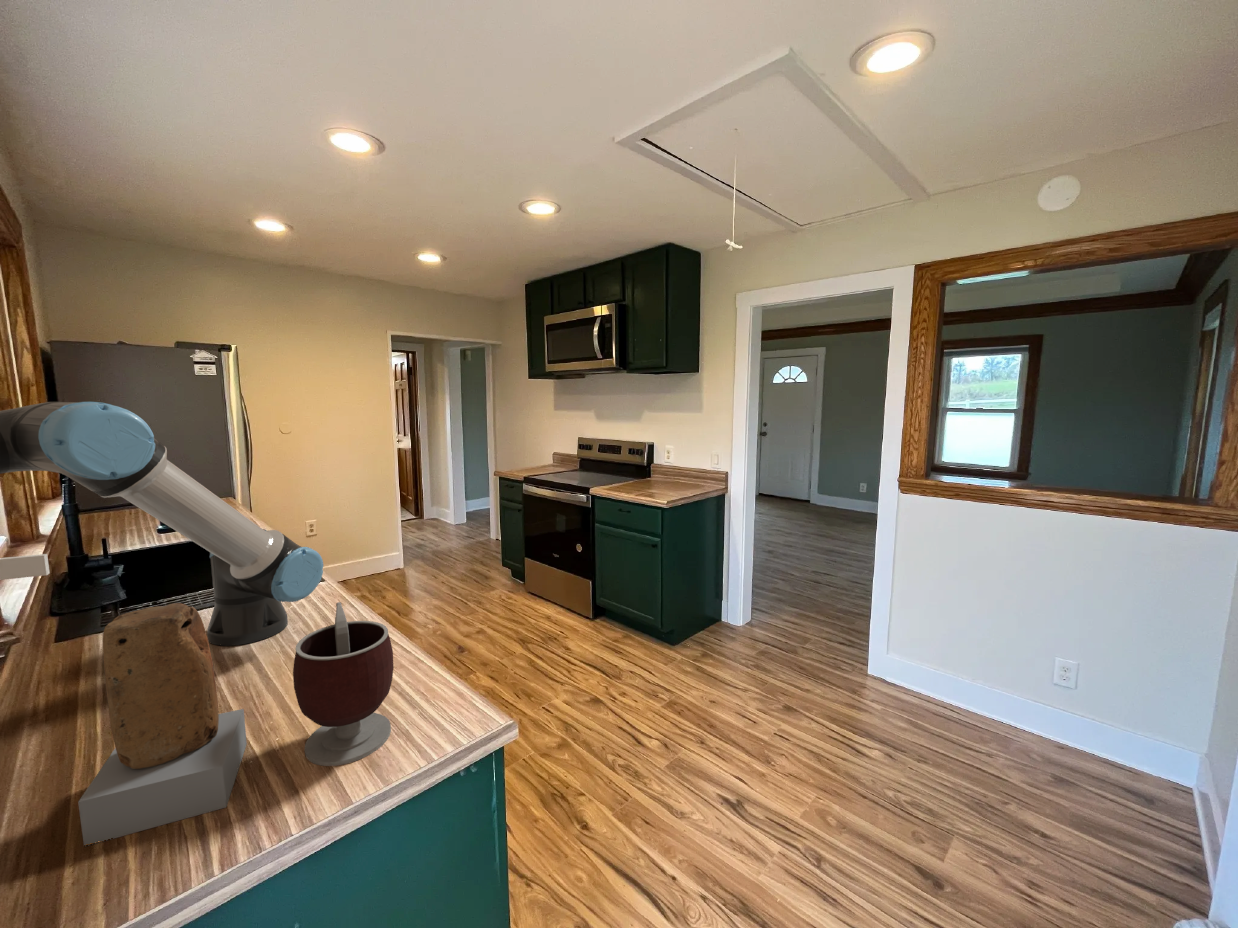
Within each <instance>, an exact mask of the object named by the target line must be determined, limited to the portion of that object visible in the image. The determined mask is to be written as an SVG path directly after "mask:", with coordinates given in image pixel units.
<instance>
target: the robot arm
mask: <svg viewBox="0 0 1238 928" xmlns="http://www.w3.org/2000/svg"><path fill="white" fill-rule="evenodd" d="M167 449H168V448H167V447H166V446H165V445H164V444H162V443H161V442H160V441H159V440H157V439H156V438H155V435H154V433H153V430H152V429H151V427H150V426H149V425H148V423H147V422H146V421H145V420H144V419H143V418H141V417H140V416H139V415H137V414H136V413H134V412H132V411H130V410H129V409H126V408H123V407H120V406H118V405H113V404H111V403H105V402H100V401H79V402H78V401H77V402H76V401H75V402H73V401H72V402H71V401H70V402H69V401H47V402H41V403H36V404H30V405H25V406H20V407H15V408H9V409H3V410H0V474H6V473H7V474H8V473H13V472H27V471H28V472H29V471H30V472H32V471H33V472H35V471H39V472H52V473H57V474H62V475H64V476H66V477H67V478H70V480H73V481H74V482H76V483H78V484H80V485H81V486H83V487H85V488H86V489H88V490H90V491H91V492H93V493H94V494H96V495H98V496H99V497H101V498H104V499H105V498H115V497H121V498H123V499H124V500H126V501H127V502H128V503H131V504H132V505H133V506H135V507H137V508H138V509H140V510H142V511H143V512H145V513H147V514H149V515H150V516H152V517H153V518H155V519H157V521H159V522H161V523H162V524H164V525H166V526H168V527H169V528H171V529H173V530H174V531H176V532H177V533H179V534H180V535H182V536H184V537H185V538H186V539H188V540H190V541H191V542H193V543H194V544H196V545H198V546H200V547H201V548H203V549H205V550H206V551H207V552H209V559H210V565H211V566H210V568H211V577H212V587H213V597H214V598H213V599H214V605H213V606H214V607H213V611H212V613H211V616H210V619H209V623H208V626H207V630H206V631H207V632H206V635H207V638H208V642H209V644H212V645H215V646H223V647H225V646H227V647H229V646H231V647H232V646H238V645H239V646H240V645H241V646H242V645H245V644H250V643H254V642H259V641H262V640H265V639H268V638H270V637H273V636H274V635H277V634H278V633H280V632H282V631H283V630H285V629H286V627H287V626H288V625H289V624H288V623H289V621H288V620H289V619H288V613H287V611H286V609H285V607H284V605H283V602H284V603H285V602H286V603H287V602H288V603H296V602H298V601H301V600H304V599H305V598H307V597H309V596H310V595H311V594H312V593H313V592H314V591H315V590H316V589H317V587H318V586H319V584H320V583H321V580H322V577H323V574H324V570H323V568H324V561H323V557H322V556H321V554H320V553H319V552H318V551H317V550H315V549H313V548H311V547H309V546H302V545H299V544H297V543H296V542H294V541H293V540H292V539H291V538H289V537H288V536H286V535H285V534H284V533H282V532H281V531H279V530H277V529H269V530H266V529H263V528H262V527H260V526H259V525H258V524H256V523H255V522H253V521H252V520H251V519H249V518H248V517H247V516H245V515H244V514H243V513H242V512H240V511H238V510H237V509H236V508H234V507H233V506H232V505H231V504H229V503H227V502H226V501H225V500H224V499H222V498H220V497H219V496H218V495H216V494H215V493H213V492H212V491H210V489H208V488H206V486H204V485H203V484H201V483H200V482H198V481H197V480H195V478H193V477H192V476H191V475H189V474H188V473H186V472H185V471H183V470H182V469H180V468H179V467H178V466H176V465H175V464H174V463H173V462H171V461H170V460H168V457H167V454H168V451H167ZM49 574H51V573H50V565H49V559H48V553H43V554H41V553H40V554H31V555H19V556H9V557H0V581H4V580H13V579H24V578H32V577H34V578H35V577H43V576H48V575H49Z"/></svg>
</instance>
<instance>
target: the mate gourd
mask: <svg viewBox="0 0 1238 928" xmlns="http://www.w3.org/2000/svg"><path fill="white" fill-rule="evenodd" d="M335 605H336V609H335V610H336V611H335V618H334V624H330V625H327V626H324V627H321V628H319V629H316V630H314V631H312V632H310V633H308V634H306V635H305V636H303V637H302V638H301V639H299V640H298V642H297V643H296V645H295V656H294V660H293V667H292V668H293V670H292V679H293V689H294V690H293V691H294V693H295V697H296V702H297V705H298V707H299V709H300V712H301V713H302V714H303V716H305V717H306V718H307V719H309V720H310V721H312V722H313V723H315V724H316V725H318V726H320V727H318V728H317V729H316V730H314V732H312V733H311V735H310V736H309V737H308V738H307V740H306V742H305V744H304V754H305V758H306V759H307V760H308V761H309V762H311V763H312V764H314V765H317V766H323V767H337V766H344V765H348V764H350V763H354V762H357V761H359V760H362V759H363V758H366V757H368V756H370V755H372V754H373V753H375V752H376V751H378V750H379V749H381V747H382V746H384V744H385V743H386V742H387V741H388V739H389V737H390V735H391V732H392V727H391V724H392V723H391V722H390V719H389V718H388V717H386V716H385V715H383V714H382V713H377V712H376V711H377V710H378V709H379V708H380V706H381V705H382V703H383V702H384V701H385V699H386V698H387V696H388V695H389V694H390V690H391V687H392V682H393V676H394V668H395V667H394V651H393V645H392V642H391V637H390V635H389V629H388V627H387V626H386V625H385V624H383V623H380V622H377V621H371V620H353V621H348V620H347V616H346V613H345V610H344V607H343V606H342V602H341V601H339V602H337V603H336V604H335Z"/></svg>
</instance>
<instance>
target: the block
mask: <svg viewBox="0 0 1238 928" xmlns="http://www.w3.org/2000/svg"><path fill="white" fill-rule="evenodd" d="M204 624H205V623H204V622H203V620H202V617H201V615H200V614H199V611H198V610H197V609H196V608H195V607H193V606H189V605H187V604H186V603H181V602H174V603H169V604H166V605H165V606H164V605H163V606H162V605H160V606H159V605H158V606H150V607H145V608H141V609H138V610H137V609H136V610H134V611H130V612H125V613H122V614H120V615H118V616H116V617H115V618H113V620H112V621H111V622H109V623H107V625H106V626H104V629H103V634H102V654H103V655H102V657H103V669H104V678H105V679H104V680H105V690H106V698H107V699H106V700H107V702H108V704H107V706H108V714H109V715H108V716H109V724H110V725H109V726H110V729H111V730H110V731H111V735H112V738H113V743H114V747H115V748H116V751H117V754H118V757H119V760H120V762H121V763H123V764H124V765H125V766H129V767H131V768H132V769H141V768H147V767H153V766H156V765H160V764H163V763H166V762H168V761H171V760H174V759H176V758H178V757H179V756H180V755H182V754H184V753H189V752H191V751H194V750H196V749H198V748H200V747H202V746H204V745H205V744H206V743H207V742H208V741H210V740H211V739H213V738H214V737H215V736H216V735H217V732H218V723H219V714H220V712H219V701H218V700H219V697H218V692H217V685H216V677H215V676H216V675H215V670H214V661H213V656H212V653H211V648H210V642H209V641H208V635H207V632H206V631H207V630H206V627H205V625H204Z"/></svg>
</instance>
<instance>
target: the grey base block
mask: <svg viewBox="0 0 1238 928" xmlns="http://www.w3.org/2000/svg"><path fill="white" fill-rule="evenodd" d="M246 732H247V731H246V720H245V710H244V708H240V709H236V710H231V711H226V712H222V713H219V723H218V732H217V735H216V736H215V737H214V738H213V739H211V740H210V741H208V742H207V743H206V744H205V745H204V746H202V747H200V748H198V749H196V750H194V751H191V752H189V753H184V754H182V755H180V756H179V757H178V758H176V759H174V760H171V761H168V762H166V763H163V764H160V765H156V766H153V767H147V768H141V769H132V768H131V767H129V766H125V765H124V764H123V763H121V762H120V760H119V757H118V754H117V751H116V747H115V748H114V749H113V750H112V752H111V753H110V755H109V756H108V758H107V760H105V762H104V763H103V765H102V767H101V768H100V770H99V771H98V773H97V774H96V776H95V777H94V778H93V779H92V781H91V783H90V784H89V786H88V787H87V788H86V789H85V791H84V793H83V794H82V796H81V797H80V799H78V810H79V817H80V826H81V827H80V828H81V833H82V840H83V846H84V845H86V844H90V843H95V842H98V841H103V842H105V841H104V840H106V841H109V840H108V839H110V840H112V839H111V838H113V839H117V838H121V837H124V836H127V835H128V836H129V835H131V834H135V833H138V832H141V831H146V830H149V829H153V828H156V827H159V826H164V825H167V824H171V823H175V822H178V821H181V820H185V819H189V818H192V817H197V816H199V815H204V814H207V813H211V812H215V811H217V810H221V809H225V808H227V807H228V803H229V800H230V797H231V793H232V791H233V787H234V785H235V782H236V778H237V776H238V772H239V769H240V766H241V764H242V760H243V758H244V757H243V756H244V755H245V754H244V753H245V750H246V748H247V744H248V743H247V733H246ZM95 844H96V843H95Z"/></svg>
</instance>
